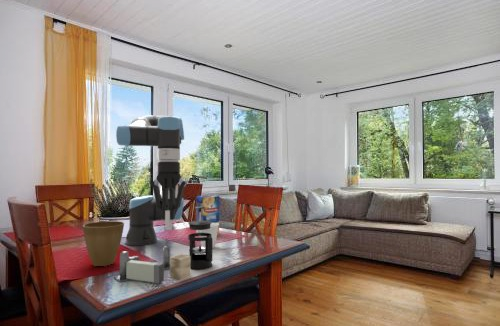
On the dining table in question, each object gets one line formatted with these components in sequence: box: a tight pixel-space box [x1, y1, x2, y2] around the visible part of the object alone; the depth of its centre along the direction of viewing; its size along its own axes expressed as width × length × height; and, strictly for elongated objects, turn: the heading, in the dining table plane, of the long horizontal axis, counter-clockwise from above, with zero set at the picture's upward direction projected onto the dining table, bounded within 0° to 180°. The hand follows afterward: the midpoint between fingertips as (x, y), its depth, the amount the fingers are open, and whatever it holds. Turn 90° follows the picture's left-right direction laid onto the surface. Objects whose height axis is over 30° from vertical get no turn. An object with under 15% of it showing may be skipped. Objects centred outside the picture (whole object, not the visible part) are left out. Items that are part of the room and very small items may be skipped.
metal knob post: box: [113, 250, 140, 283], centre depth 109 cm, size 8×6×9 cm
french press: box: [188, 207, 213, 271], centre depth 121 cm, size 12×9×23 cm
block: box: [169, 253, 192, 281], centre depth 110 cm, size 5×5×7 cm
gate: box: [126, 260, 165, 284], centre depth 105 cm, size 13×3×6 cm, turn 71°
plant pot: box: [82, 220, 125, 267], centre depth 124 cm, size 15×15×16 cm
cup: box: [201, 223, 220, 249], centre depth 149 cm, size 10×10×11 cm
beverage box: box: [195, 194, 220, 236], centre depth 176 cm, size 7×11×22 cm, turn 133°
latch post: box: [162, 245, 171, 271], centre depth 119 cm, size 4×4×8 cm
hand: (168, 228), depth 108 cm, fingers closed
